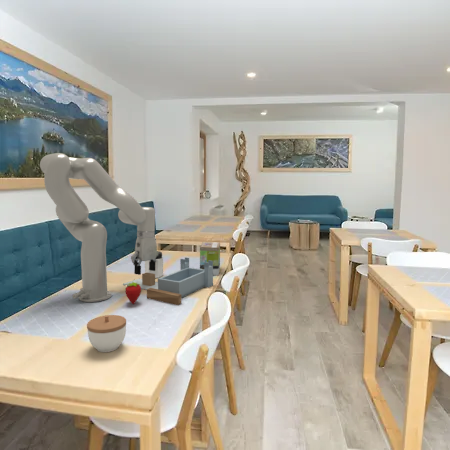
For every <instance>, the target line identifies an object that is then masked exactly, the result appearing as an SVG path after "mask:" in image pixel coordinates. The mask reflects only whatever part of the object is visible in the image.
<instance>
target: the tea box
mask: <svg viewBox="0 0 450 450" xmlns="http://www.w3.org/2000/svg"><path fill="white" fill-rule="evenodd" d="M209 260H210V261H213V276H219V274H220V268H221V242H214V241H213V242H211V241H210V242H207V241H205V242H204V241H202V243H201V245H200V246H199V269H202V270H204V262H208V261H209Z"/></svg>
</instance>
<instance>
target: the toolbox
mask: <svg viewBox="0 0 450 450" xmlns="http://www.w3.org/2000/svg"><path fill="white" fill-rule="evenodd" d="M179 260H180V270H177V271H174V272H173V273H169V274H166V275H163V276H162V277H160V278H157V282H158V290H163V291H168V292H173V293H177V294H181V299H182V298H185V297H187V296H189V295H191V294H193V293H195V292H197V291H199V290H201V289H203V288H210V287H212V286H214V275H213V261H210V260H209V261H208V262H204V270H202V269H200V268H194V267H190V257H184V258H180V259H179Z"/></svg>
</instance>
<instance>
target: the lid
mask: <svg viewBox="0 0 450 450" xmlns="http://www.w3.org/2000/svg"><path fill="white" fill-rule="evenodd" d="M133 282H134V283H137V284H140V285H139V286H140V287H141V290H144V289H145V290H144V291H147V289H149V288H154V289H158V281H156V278H155V274H153V273H147V272H146V273H145V272H144V273H141V278H137V279H136V278H135V280H134V279H133V280H131V281H128V282H124V283H122V285H123V286H125V285H127V284H129V283H133ZM127 286H129V285H127ZM127 286H126V287H127Z"/></svg>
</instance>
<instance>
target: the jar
mask: <svg viewBox="0 0 450 450" xmlns="http://www.w3.org/2000/svg"><path fill="white" fill-rule="evenodd" d="M157 251H158V250H157ZM158 252H159V254H158V258H157V259H156V260H157V261H156V262H155V271H152V270H149V262H151V261H150V260H148V261H144V273H146V272H147V273H153V274H155V279H158V278H161V277H164V257H163V253H162V251H160V250H159V251H158Z"/></svg>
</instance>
